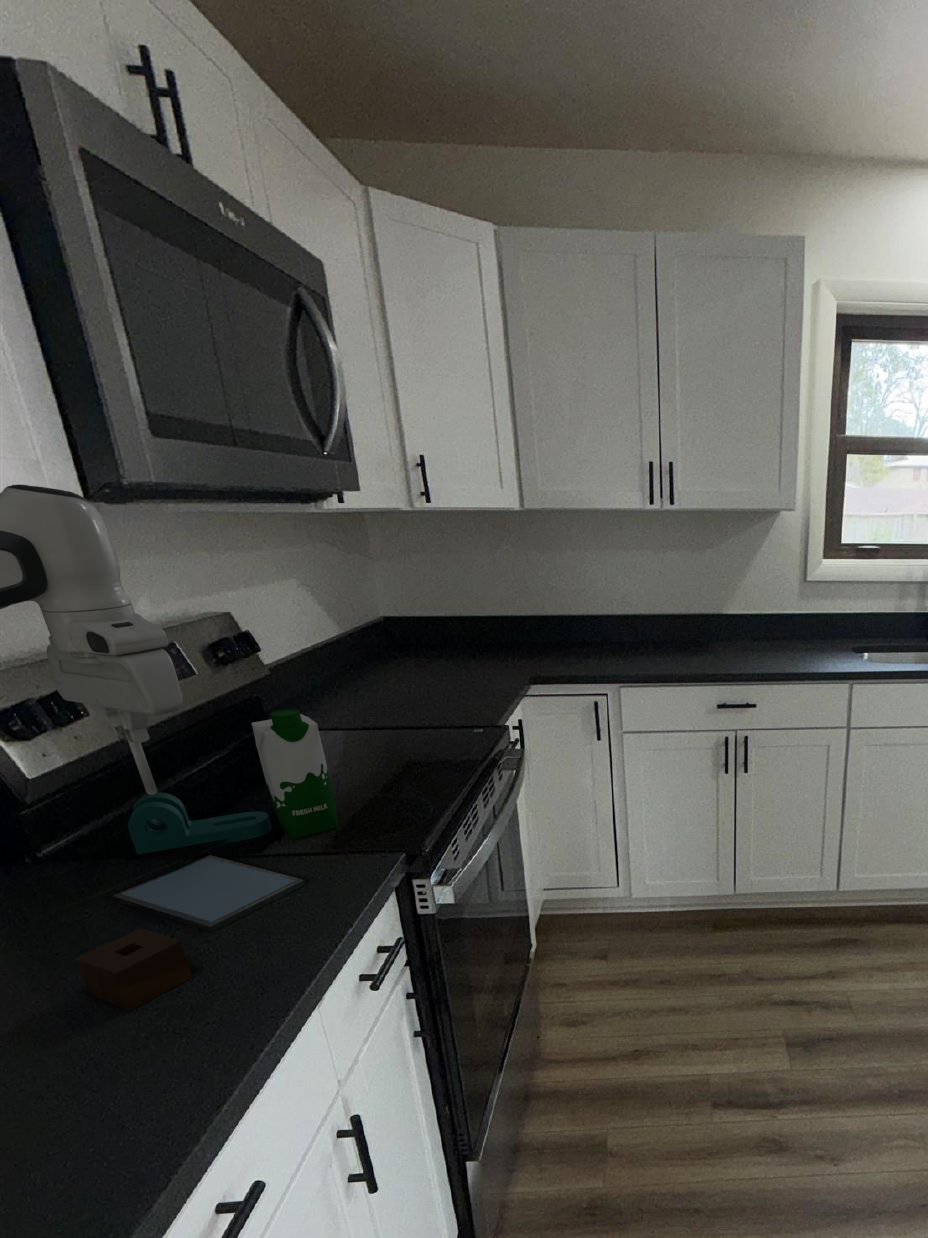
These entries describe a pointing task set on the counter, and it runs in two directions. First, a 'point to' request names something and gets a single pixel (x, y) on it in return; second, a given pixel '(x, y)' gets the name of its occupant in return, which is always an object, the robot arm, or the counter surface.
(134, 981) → the pen holder
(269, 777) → the milk carton
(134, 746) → the stylus
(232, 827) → the bracket
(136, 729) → the robot arm
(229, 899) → the plate
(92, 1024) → the counter surface
